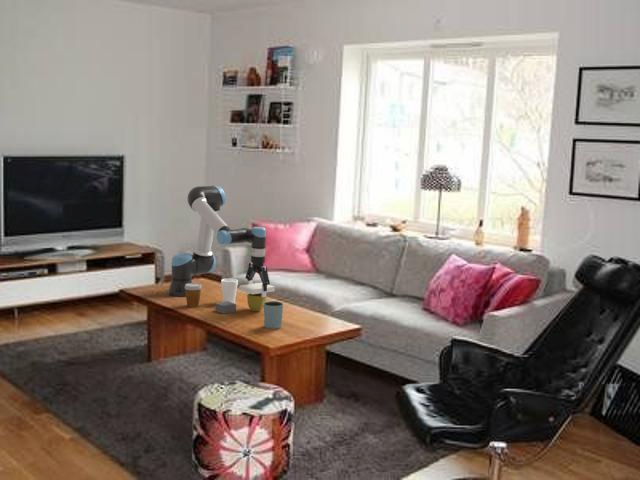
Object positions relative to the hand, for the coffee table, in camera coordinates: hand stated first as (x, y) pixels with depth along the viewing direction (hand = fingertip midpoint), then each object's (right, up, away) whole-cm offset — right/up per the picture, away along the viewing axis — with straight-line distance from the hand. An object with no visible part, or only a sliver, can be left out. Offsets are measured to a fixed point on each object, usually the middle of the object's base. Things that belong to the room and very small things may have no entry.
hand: (256, 294), depth 396 cm
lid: (0, +2, 0) cm, 2 cm away
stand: (-17, -9, -3) cm, 19 cm away
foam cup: (-17, -6, +14) cm, 23 cm away
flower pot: (0, -9, +1) cm, 9 cm away
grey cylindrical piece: (+10, -14, -29) cm, 34 cm away
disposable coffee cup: (-36, -7, +4) cm, 36 cm away
